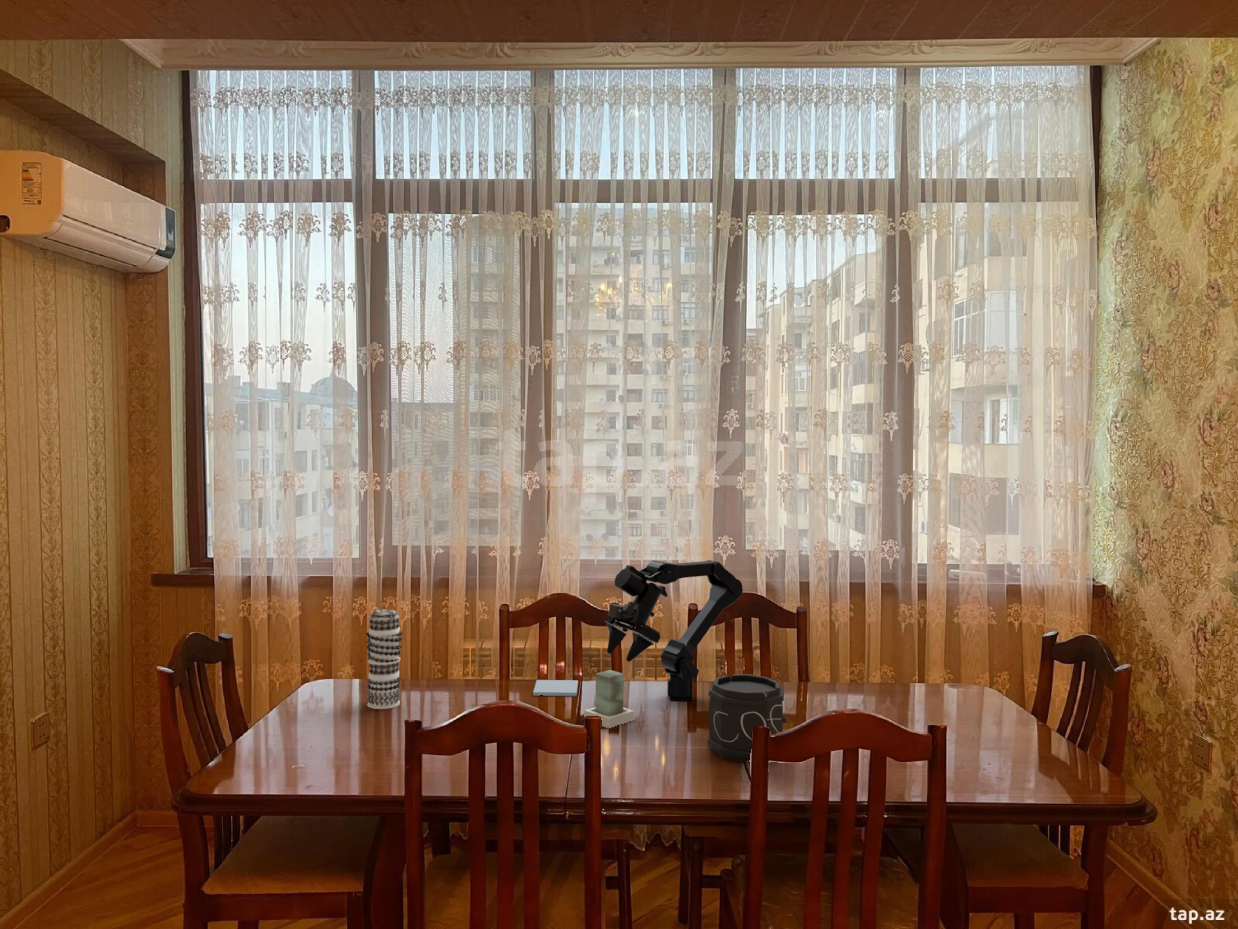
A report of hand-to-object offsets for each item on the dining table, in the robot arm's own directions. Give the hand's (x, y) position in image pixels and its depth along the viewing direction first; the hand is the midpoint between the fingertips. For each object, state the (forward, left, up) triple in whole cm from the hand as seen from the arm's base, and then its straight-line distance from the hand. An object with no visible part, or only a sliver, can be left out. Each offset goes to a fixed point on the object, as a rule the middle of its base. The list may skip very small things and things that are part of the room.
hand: (617, 657), depth 229 cm
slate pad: (+17, -17, -14) cm, 28 cm away
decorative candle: (+62, -2, -14) cm, 64 cm away
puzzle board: (+2, +9, -14) cm, 17 cm away
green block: (+2, +9, -14) cm, 17 cm away
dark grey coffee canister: (-30, +29, -14) cm, 44 cm away
